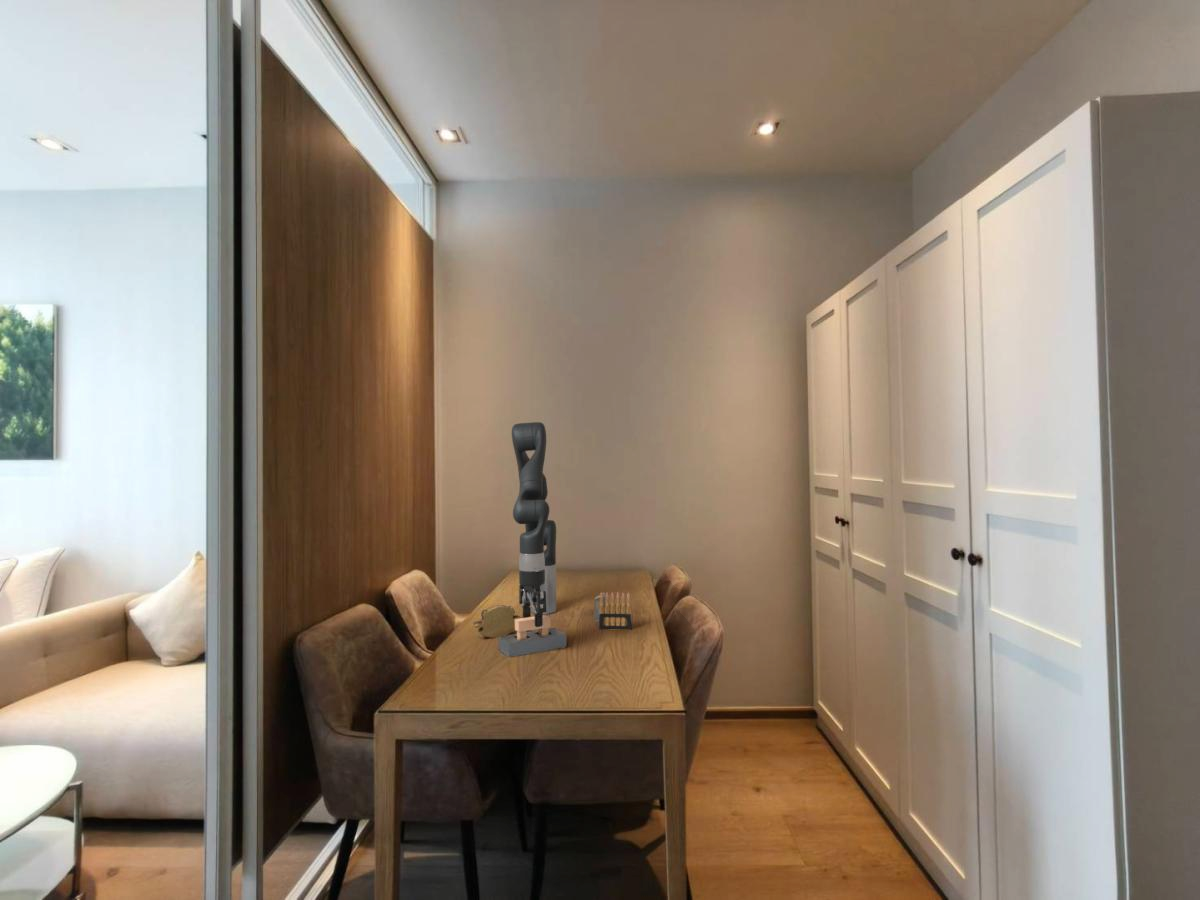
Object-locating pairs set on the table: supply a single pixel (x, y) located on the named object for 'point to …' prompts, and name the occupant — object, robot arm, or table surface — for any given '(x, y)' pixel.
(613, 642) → the table surface
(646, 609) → the table surface
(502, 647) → the grey socket block
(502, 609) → the wooden carving
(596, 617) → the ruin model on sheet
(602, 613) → the ammunition clip
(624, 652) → the table surface
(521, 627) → the prong clip
